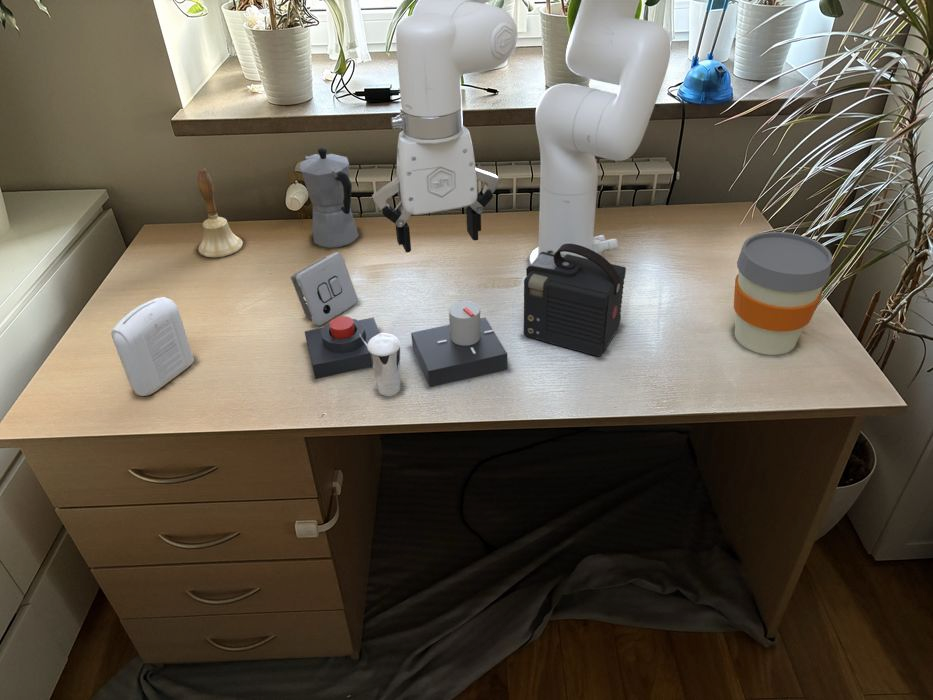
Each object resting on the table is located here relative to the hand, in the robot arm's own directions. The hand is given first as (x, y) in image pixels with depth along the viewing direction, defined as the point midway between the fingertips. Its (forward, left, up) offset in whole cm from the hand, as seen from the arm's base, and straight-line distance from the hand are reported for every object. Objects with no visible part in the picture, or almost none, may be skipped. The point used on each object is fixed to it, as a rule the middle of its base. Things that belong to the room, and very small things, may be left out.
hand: (439, 241), depth 104 cm
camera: (-20, +2, -19) cm, 28 cm away
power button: (+15, -4, -15) cm, 21 cm away
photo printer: (+42, -8, -19) cm, 47 cm away
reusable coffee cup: (-47, +14, -19) cm, 53 cm away
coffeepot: (+10, -41, -19) cm, 46 cm away
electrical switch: (+16, -17, -19) cm, 30 cm away
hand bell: (+32, -46, -19) cm, 59 cm away
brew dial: (-3, +2, -16) cm, 16 cm away
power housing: (+15, -4, -19) cm, 24 cm away
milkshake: (+11, +7, -19) cm, 23 cm away
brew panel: (-1, +3, -19) cm, 19 cm away
